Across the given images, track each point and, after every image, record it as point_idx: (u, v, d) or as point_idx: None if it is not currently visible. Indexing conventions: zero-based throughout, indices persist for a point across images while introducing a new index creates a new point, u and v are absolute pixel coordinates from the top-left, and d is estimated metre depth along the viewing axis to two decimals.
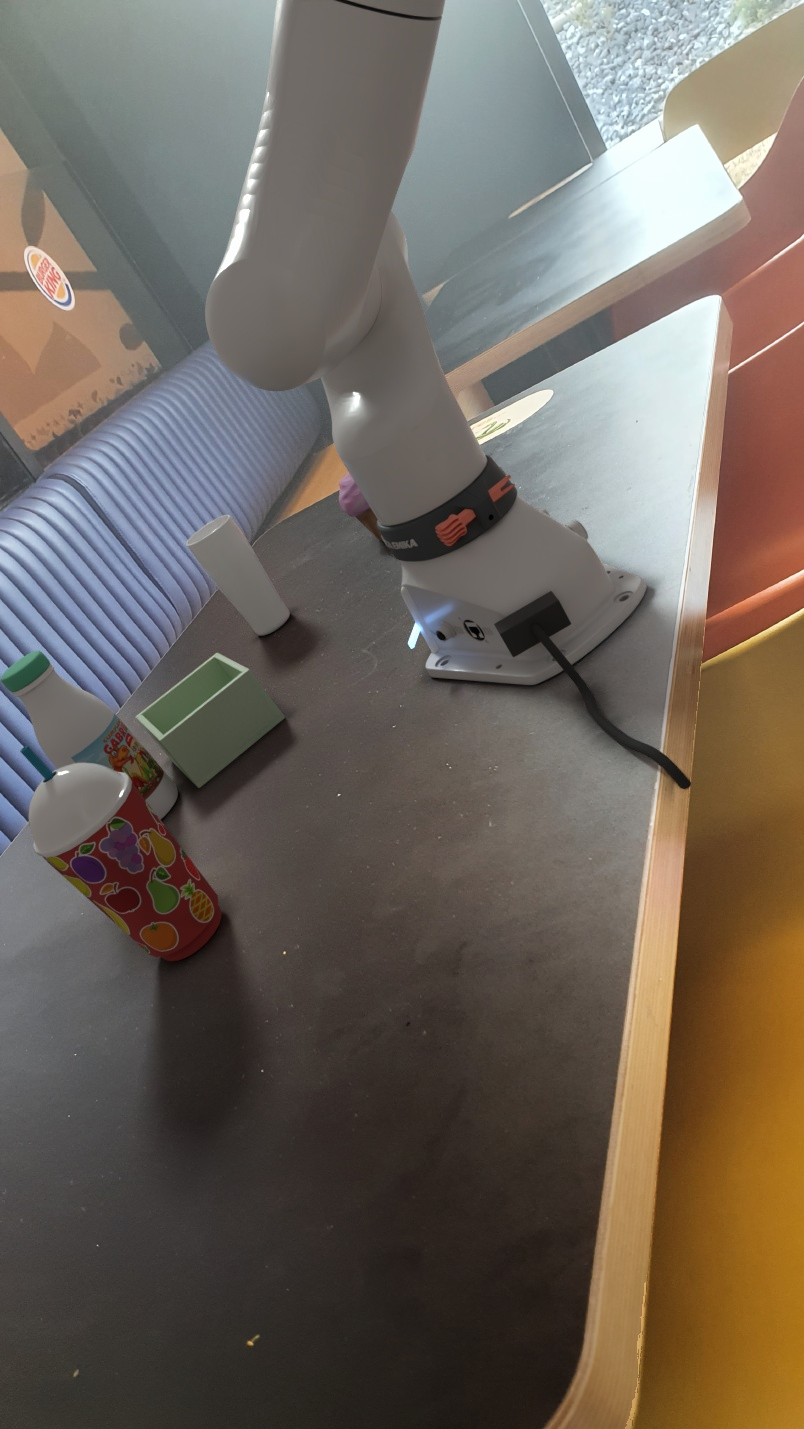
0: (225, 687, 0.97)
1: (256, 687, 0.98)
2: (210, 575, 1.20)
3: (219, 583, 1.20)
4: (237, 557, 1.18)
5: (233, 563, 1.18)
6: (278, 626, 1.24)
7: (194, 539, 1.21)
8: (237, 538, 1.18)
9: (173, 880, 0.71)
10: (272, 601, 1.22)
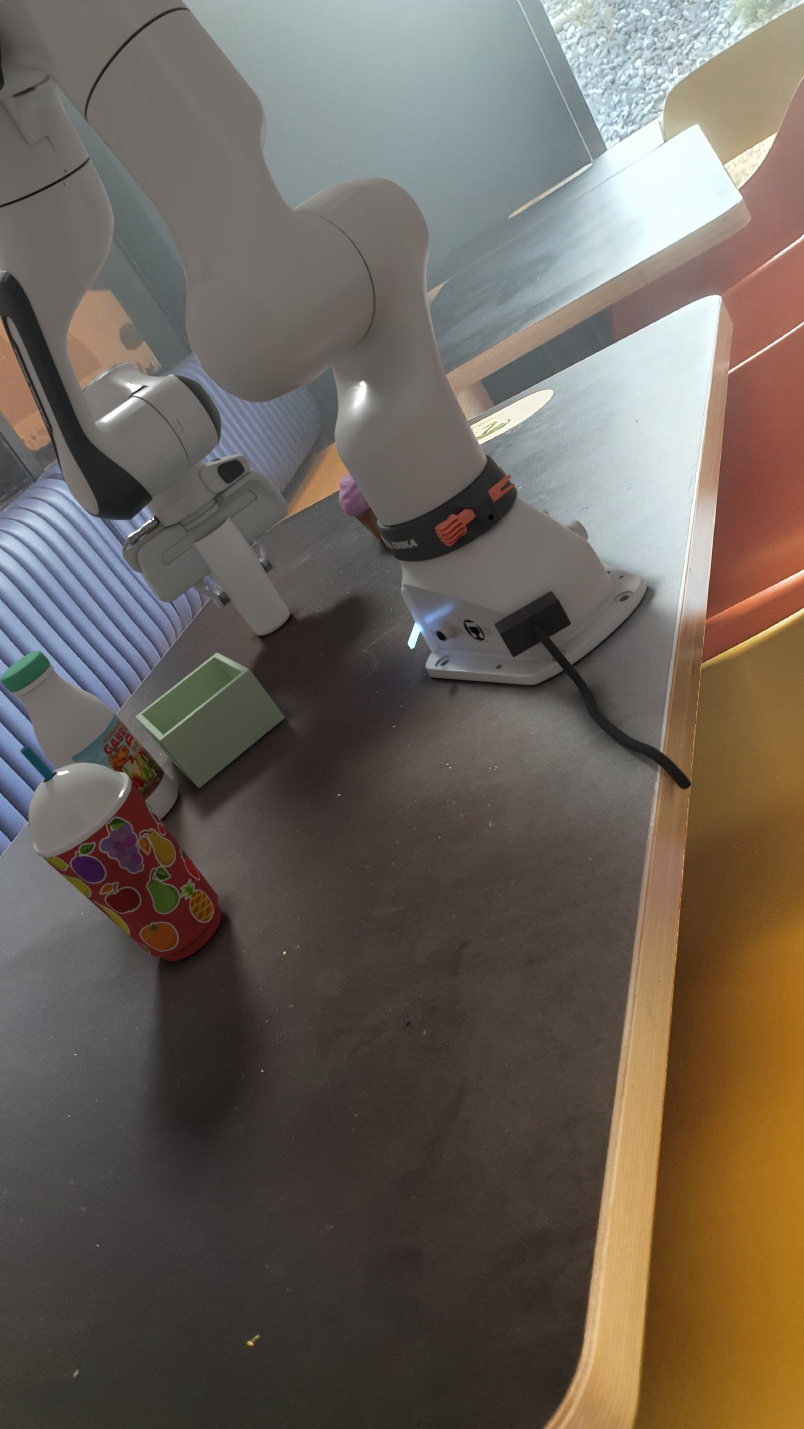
0: (225, 687, 0.97)
1: (256, 687, 0.98)
2: (210, 575, 1.20)
3: (219, 583, 1.20)
4: (237, 557, 1.18)
5: (233, 563, 1.18)
6: (278, 626, 1.24)
7: None
8: (237, 538, 1.18)
9: (173, 880, 0.71)
10: (272, 601, 1.22)
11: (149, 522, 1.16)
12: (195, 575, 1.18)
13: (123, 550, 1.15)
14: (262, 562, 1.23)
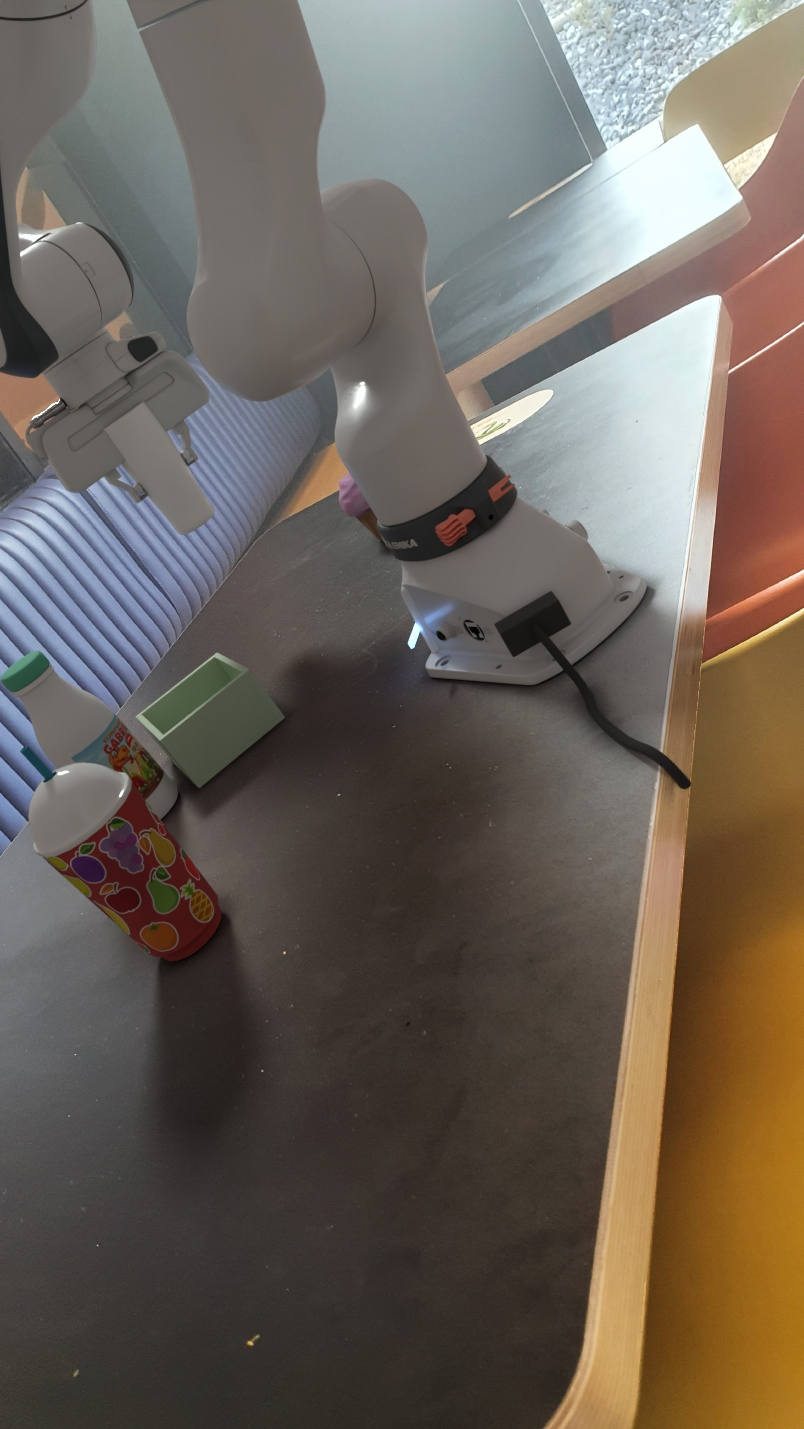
0: (225, 687, 0.97)
1: (256, 687, 0.98)
2: (124, 465, 1.11)
3: (134, 474, 1.12)
4: (152, 444, 1.10)
5: (147, 451, 1.10)
6: (200, 523, 1.15)
7: None
8: (151, 424, 1.10)
9: (173, 880, 0.71)
10: (193, 495, 1.14)
11: (55, 404, 1.07)
12: (106, 464, 1.09)
13: (26, 434, 1.07)
14: (182, 453, 1.14)
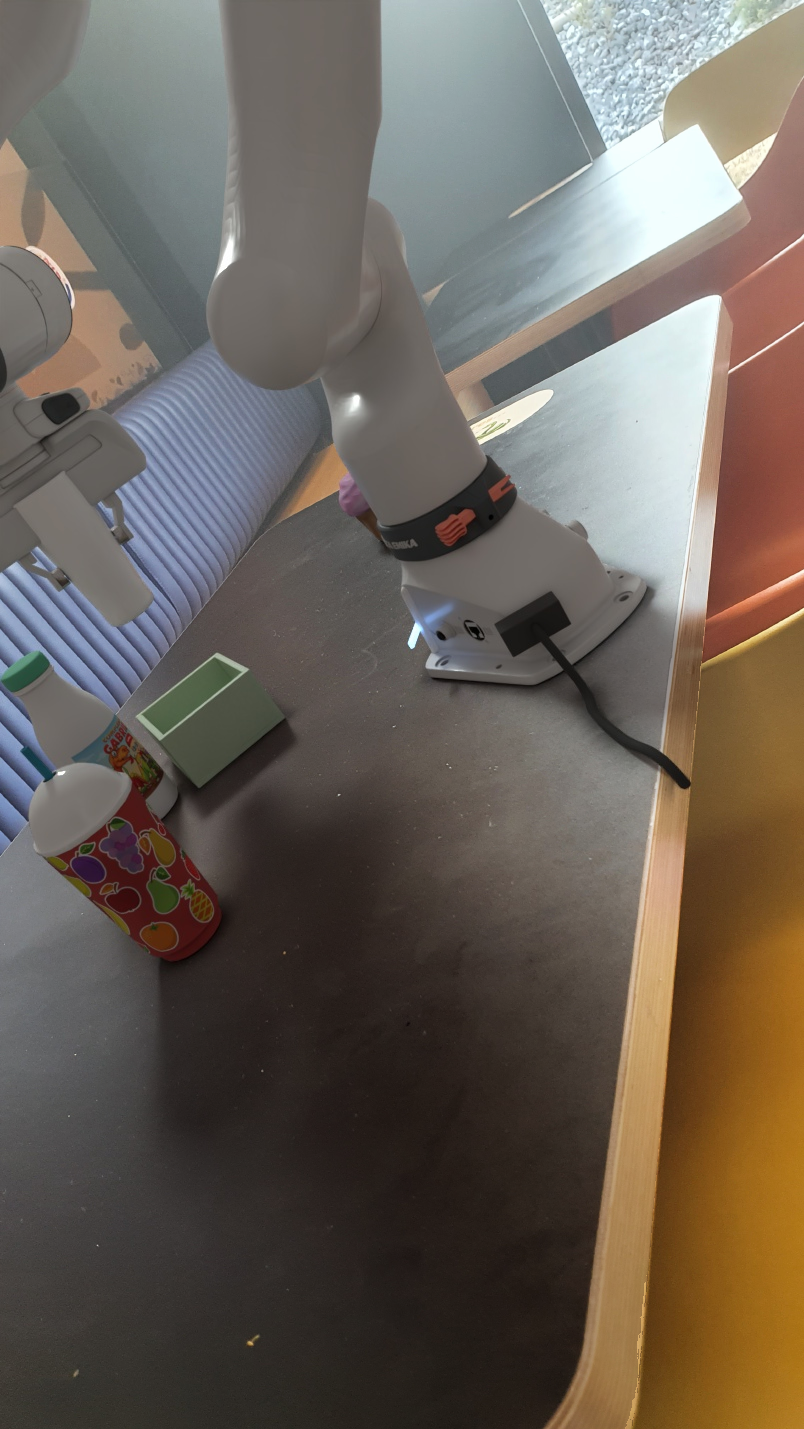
0: (225, 687, 0.97)
1: (256, 687, 0.98)
2: (41, 547, 0.92)
3: (53, 558, 0.92)
4: (73, 523, 0.90)
5: (68, 531, 0.90)
6: (136, 615, 0.95)
7: None
8: (73, 498, 0.90)
9: (173, 880, 0.71)
10: (126, 582, 0.94)
11: None
12: (17, 547, 0.90)
13: None
14: (114, 531, 0.94)
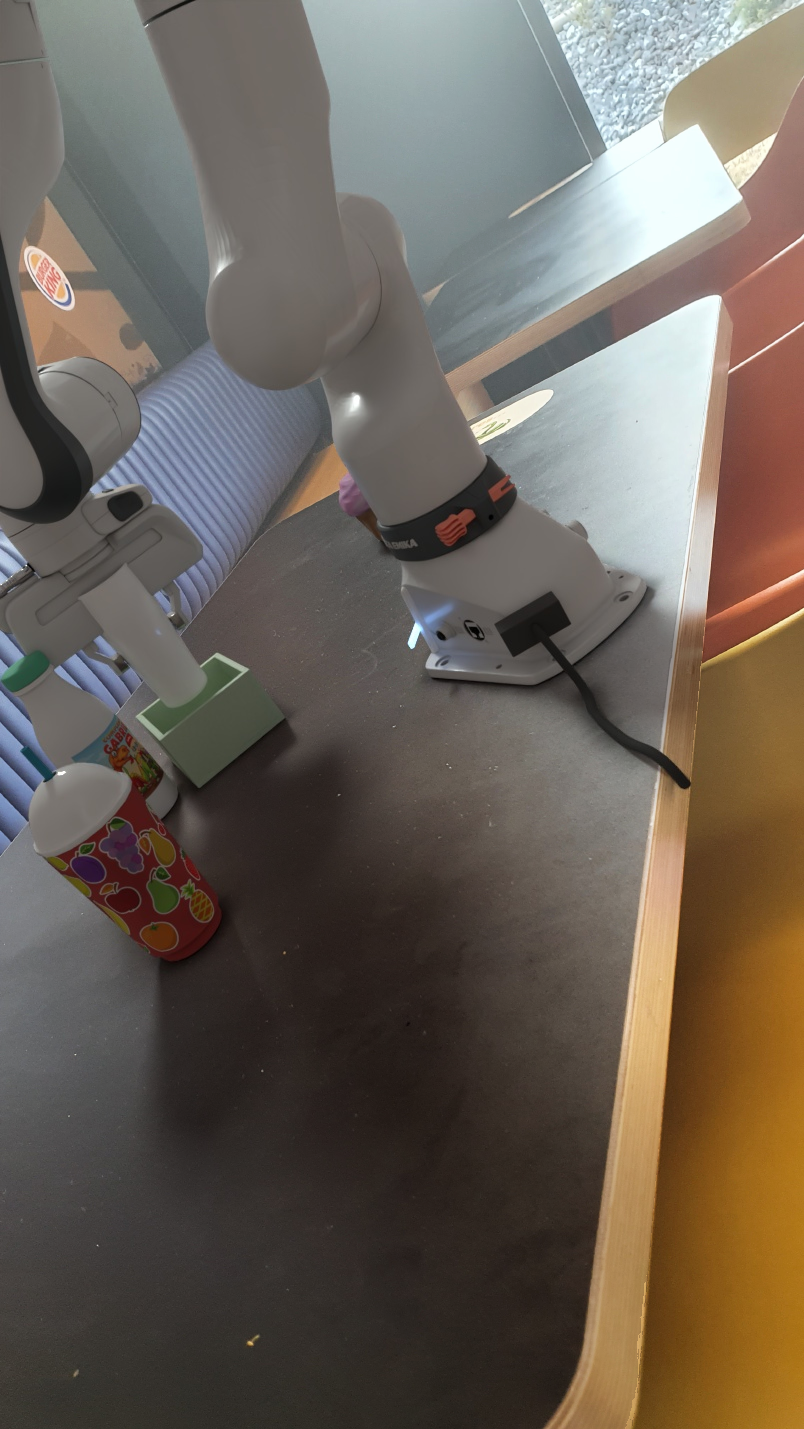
0: (225, 687, 0.97)
1: (256, 687, 0.98)
2: (102, 636, 0.95)
3: (114, 645, 0.95)
4: (135, 614, 0.94)
5: (130, 622, 0.94)
6: (191, 697, 0.99)
7: None
8: (135, 590, 0.94)
9: (173, 880, 0.71)
10: (183, 667, 0.98)
11: (20, 571, 0.91)
12: (81, 637, 0.93)
13: None
14: (171, 618, 0.98)
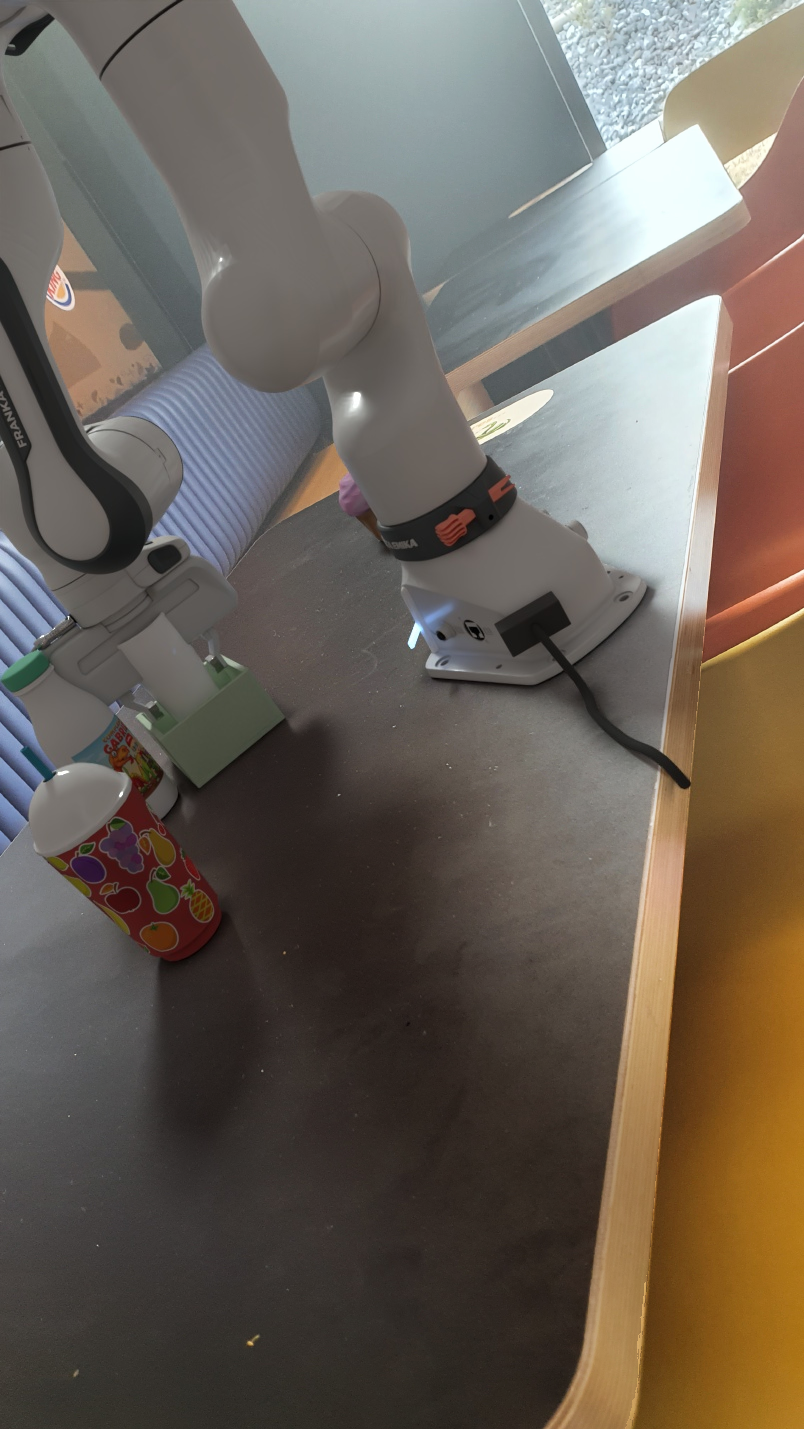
0: (225, 687, 0.97)
1: (256, 687, 0.98)
2: (140, 682, 0.98)
3: (151, 691, 0.98)
4: (172, 661, 0.96)
5: (167, 669, 0.96)
6: None
7: None
8: (172, 638, 0.96)
9: (173, 880, 0.71)
10: None
11: (63, 622, 0.93)
12: (121, 686, 0.96)
13: None
14: (210, 661, 1.00)
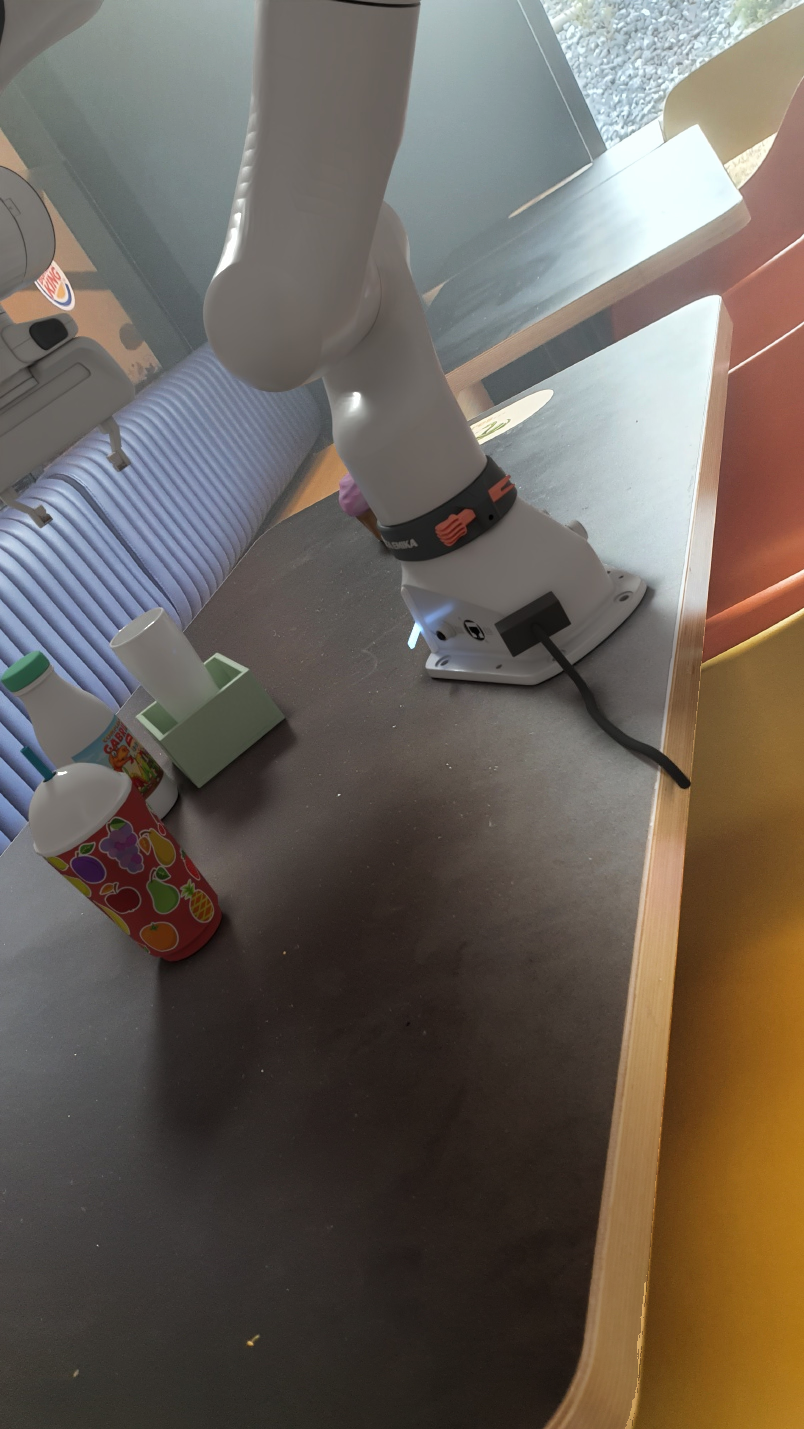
0: (225, 687, 0.97)
1: (256, 687, 0.98)
2: (140, 682, 0.98)
3: (151, 691, 0.98)
4: (172, 661, 0.96)
5: (167, 669, 0.96)
6: None
7: (121, 636, 0.99)
8: (172, 638, 0.96)
9: (173, 880, 0.71)
10: None
11: None
12: (6, 475, 0.89)
13: None
14: (111, 457, 0.94)
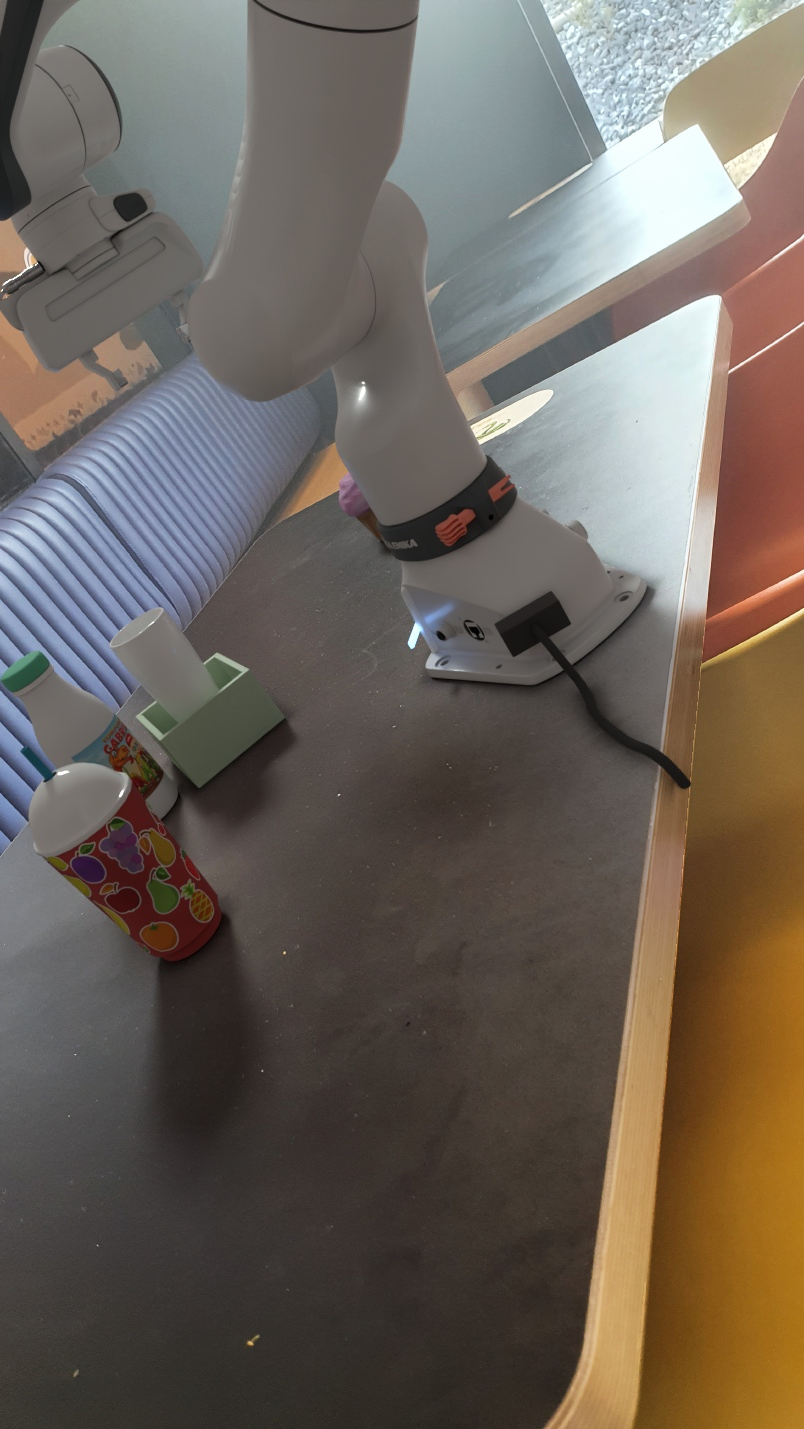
0: (225, 687, 0.97)
1: (256, 687, 0.98)
2: (140, 682, 0.98)
3: (150, 691, 0.98)
4: (172, 661, 0.96)
5: (167, 669, 0.96)
6: None
7: (121, 636, 0.99)
8: (172, 638, 0.96)
9: (173, 880, 0.71)
10: None
11: (31, 267, 0.96)
12: (89, 338, 0.98)
13: None
14: (181, 327, 1.03)
